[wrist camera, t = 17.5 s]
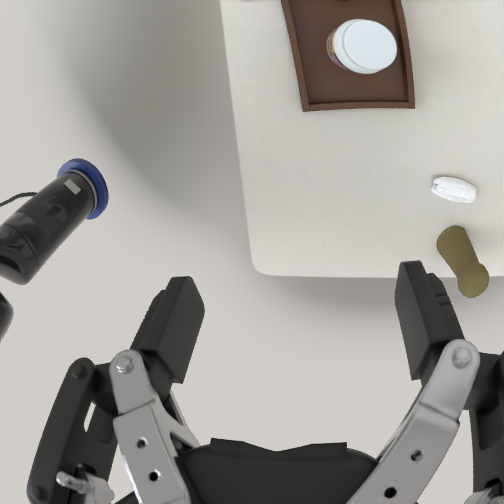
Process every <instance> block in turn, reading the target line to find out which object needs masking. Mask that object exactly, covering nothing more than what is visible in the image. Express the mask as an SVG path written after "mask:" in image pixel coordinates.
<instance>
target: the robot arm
mask: <svg viewBox="0 0 504 504" xmlns="http://www.w3.org/2000/svg"><path fill="white" fill-rule="evenodd" d="M25 196H33V197H32V198H31V199H30V200H29V201H28V202H26V203H25V204H24V205H23V206H21V207H20V208H19V209H18V210H17V211H16V212H15V213H14V214H13V215H11V216H10V217H9V218H8V219H7V220H6V221H5V222H4V223H3V224H2V225H1V226H0V276H2V277H3V278H5V279H7V280H9V281H11V282H13V283H16V284H18V285H26V284H27V283H29V282H30V281H31V280H32V278H33V277H34V276H35V275H36V274H37V272H38V271H39V270H40V268H41V267H42V266H43V265H44V264H45V263H46V261H47V260H48V259H49V258H50V257H51V256H52V254H53V253H54V252H55V251H56V250H57V249H58V247H59V246H60V245H61V244H62V243H63V242H64V241H65V240H66V239H67V238H68V237H69V236H70V234H71V233H72V232H73V231H74V230H75V229H76V228H77V227H78V226H79V225H80V224H81V223H82V222H83V221H84V220H85V219H86V218H87V217H88V216H89V215H91V214H92V213H93V212H94V211H95V210H96V208H97V206H98V202H99V195H98V191H97V188H96V185H95V183H94V182H93V180H92V179H91V178H90V176H89V175H88V174H86V173H85V172H84V171H82V170H80V169H77V168H71V169H68V170H67V171H65V172H64V173H63V174H62V175H61V176H59V177H58V178H57V179H55V180H54V181H52V182H51V183H50V184H48V185H47V186H46V187H45V188H43V189H42V190H41V191H40V192H38V193H34V192H29V193H21V194H18V195H16V196H14V197H12V198H10V199H9V200H7V201H4V202H2V203H0V207H1V206H3V205H5V204H7V203H10V202H12V201H13V200H15V199H17V198H19V197H25ZM395 306H396V310H397V314H398V318H399V322H400V326H401V331H402V335H403V339H404V344H405V348H406V353H407V358H408V363H409V369H410V374H411V380H418V379H421V384H422V388H421V389H420V391H419V393H418V395H417V397H416V398H415V400H414V402H413V404H412V405H411V407H410V409H409V410H408V412H407V414H406V415H405V417H404V419H403V420H402V422H401V423H400V425H399V427H398V428H397V430H396V431H395V432H394V434H393V435H392V437H391V438H390V439H389V441H388V442H387V444H386V445H385V446H384V448H383V449H382V450H381V452H380V453H379V455H378V456H377V457H376V459H375V458H373V457H371V456H370V455H368V454H366V453H363V452H361V451H358V450H354V449H349V448H347V442H342V443H323V444H310V445H305V446H301V447H297V448H292V449H288V450H283V451H271V450H268V449H264V448H262V447H258V446H255V445H252V444H249V443H246V442H243V441H234V440H225V439H217V438H211V442H210V444H208V445H203V446H201V445H200V444H199V442H198V440H197V439H196V438H195V436H194V435H193V434H192V432H191V431H190V430H189V428H188V426H187V424H186V422H185V420H184V417H183V415H182V413H181V411H180V409H179V406H178V404H177V402H176V399H175V397H174V394H173V392H172V390H171V385H172V383H181V384H183V381H184V378H185V375H186V372H187V368H188V365H189V362H190V359H191V356H192V352H193V349H194V346H195V343H196V340H197V336H198V333H199V330H200V327H201V324H202V321H203V318H204V311H205V310H204V303H203V301H202V298H201V296H200V294H199V292H198V290H197V287H196V285H195V283H194V281H193V279H192V278H191V277H190V276H184V277H172V278H171V279H170V281H169V283H168V286H167V287H166V289H165V290H162V291H160V293H159V294H158V295H157V296H156V297H155V298H154V299H153V301H152V303H151V305H150V307H149V311H147V313H146V315H145V319H143V322H142V323H141V326H140V328H139V330H138V332H137V334H136V336H135V338H134V341H133V343H132V345H131V347H130V349H129V350H124V351H122V352H120V353H118V354H117V355H116V356H115V357H114V358H113V360H112V361H111V363H105V364H99V365H95V364H94V363H93V362H92V361H91V360H90V359H88V358H79V359H78V360H76V361H74V363H72V364H71V366H70V367H69V369H68V372H67V374H66V376H65V378H64V380H63V383H62V385H61V387H60V390H59V392H58V394H57V397H56V400H55V402H54V405H53V407H52V410H51V412H50V415H49V417H48V420H47V423H46V425H45V428H44V431H43V434H42V437H41V440H40V443H39V446H38V449H37V452H36V455H35V458H34V462H33V465H32V469H31V472H30V476H29V480H28V484H27V496H28V499H29V501H30V503H31V504H111V502H110V501H112V500H113V499H114V492H113V491H112V490H111V489H110V487H109V485H108V483H107V482H108V479H109V475H110V471H111V467H112V463H113V458H114V455H115V452H116V448H117V444H119V447H120V451H121V454H122V457H123V460H124V463H125V466H126V469H127V472H128V475H129V478H130V481H131V483H132V486H133V489H134V491H133V492H131V493H130V494H128V495H127V496H125V497H124V498H122V499H121V500H119V501H118V502H117V503H115V504H418V503H417V500H418V498H419V497H420V495H421V494H422V492H423V491H424V489H425V488H426V486H427V485H428V483H429V482H430V480H431V479H432V477H433V475H434V474H435V472H436V471H437V469H438V467H439V466H440V464H441V462H442V460H443V459H444V457H445V455H446V453H447V451H448V449H449V448H450V446H451V444H452V442H453V440H454V438H455V436H456V434H457V432H458V429H459V426H460V422H459V417H460V414H461V412H462V410H469V415H470V423H471V433H472V445H473V446H472V447H473V494H472V495H471V496H469V498H468V499H467V500H466V501H465V503H464V504H504V351H503V353H502V354H501V355H497V354H488V353H481V352H478V350H477V348H476V347H475V346H474V345H473V344H472V343H471V342H469V341H467V340H465V338H464V335H463V333H462V330H461V327H460V324H459V322H458V319H457V316H456V314H455V311H454V309H453V306H452V304H451V301H450V299H449V297H448V295H447V292H446V290H445V287H444V285H443V283H442V281H441V280H440V279H439V278H438V277H437V276H436V275H435V274H434V273H428V274H426V271H425V269H424V267H423V265H422V263H421V261H420V260H417V261H406V262H401V263H400V266H399V272H398V278H397V284H396V289H395ZM12 319H13V307H12V305H11V304H10V303H9V301H8V300H7V299H6V298H5V297H4V296H3V294H2V293H1V292H0V342H1V340H2V339H3V337H4V335H5V334H6V332H7V330H8V328H9V326H10V324H11V322H12ZM91 402H92V403H94V404H95V405H96V406H95V409H94V412H93V415H92V418H91V421H90V424H89V427H88V430H87V432H86V431H85V429H84V421H85V418H86V415H87V412H88V410H89V407H90V404H91Z"/></svg>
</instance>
